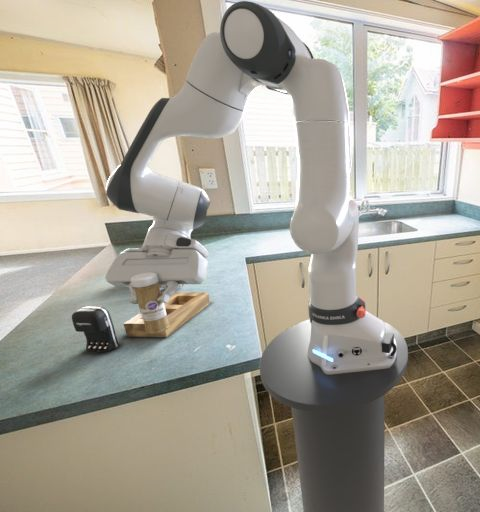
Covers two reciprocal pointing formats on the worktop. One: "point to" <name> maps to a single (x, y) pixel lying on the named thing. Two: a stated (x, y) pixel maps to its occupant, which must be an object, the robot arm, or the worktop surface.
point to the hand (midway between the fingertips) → (148, 302)
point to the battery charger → (96, 328)
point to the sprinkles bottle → (150, 302)
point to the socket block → (171, 314)
